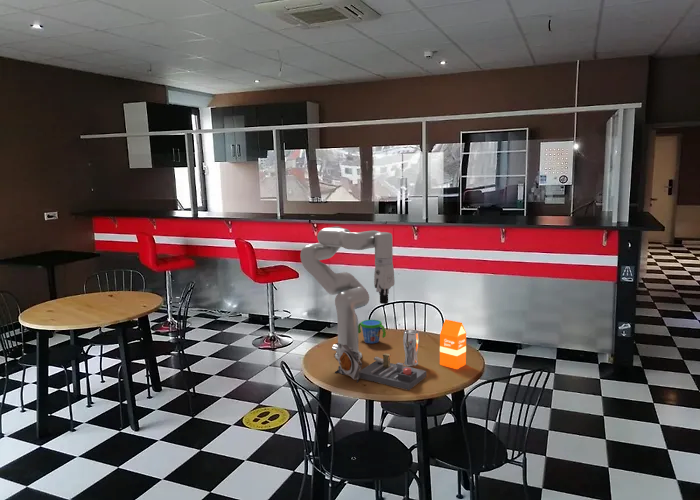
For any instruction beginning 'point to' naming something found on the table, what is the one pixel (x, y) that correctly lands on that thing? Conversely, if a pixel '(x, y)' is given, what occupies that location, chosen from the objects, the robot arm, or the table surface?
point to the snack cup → (371, 330)
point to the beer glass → (411, 347)
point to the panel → (392, 375)
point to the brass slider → (386, 360)
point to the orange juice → (453, 344)
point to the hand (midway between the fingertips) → (383, 303)
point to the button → (407, 371)
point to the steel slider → (399, 366)
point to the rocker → (378, 359)
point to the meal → (348, 362)
